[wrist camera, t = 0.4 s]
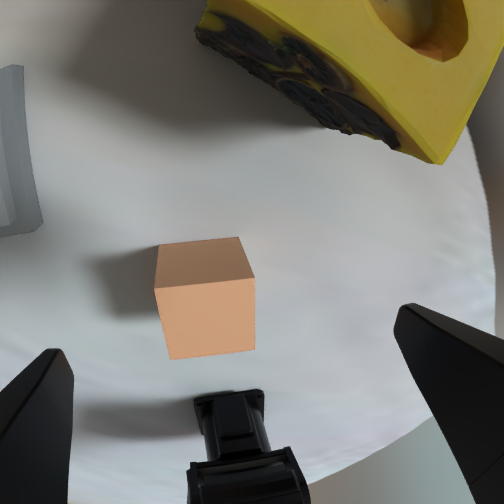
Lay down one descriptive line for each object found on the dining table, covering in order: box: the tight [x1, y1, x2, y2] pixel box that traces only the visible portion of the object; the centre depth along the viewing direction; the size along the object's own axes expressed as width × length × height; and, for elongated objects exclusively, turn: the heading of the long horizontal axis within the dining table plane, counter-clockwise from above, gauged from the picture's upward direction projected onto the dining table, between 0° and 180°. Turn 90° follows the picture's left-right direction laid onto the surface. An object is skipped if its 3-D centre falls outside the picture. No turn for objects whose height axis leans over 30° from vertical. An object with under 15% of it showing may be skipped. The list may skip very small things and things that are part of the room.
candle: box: [194, 0, 504, 165], centre depth 10 cm, size 10×10×10 cm
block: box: [154, 237, 255, 360], centre depth 19 cm, size 5×5×5 cm
